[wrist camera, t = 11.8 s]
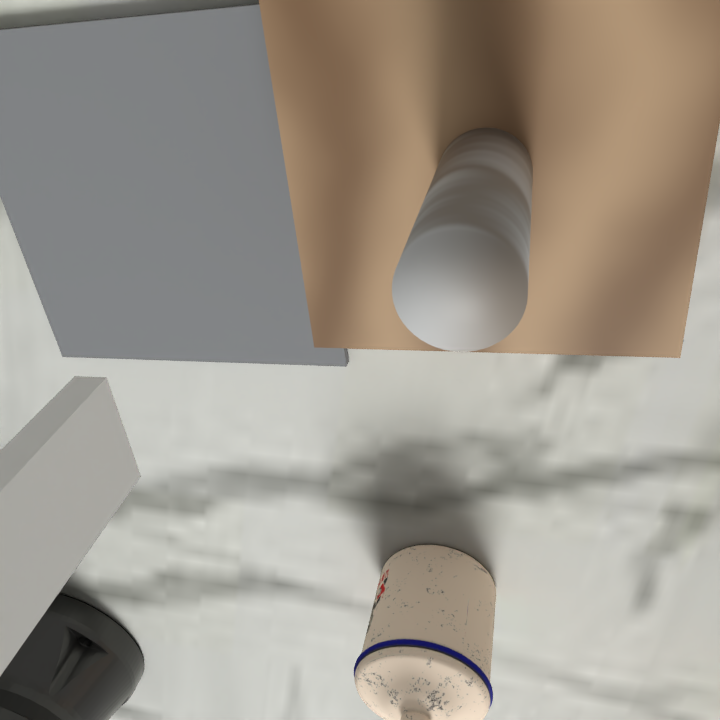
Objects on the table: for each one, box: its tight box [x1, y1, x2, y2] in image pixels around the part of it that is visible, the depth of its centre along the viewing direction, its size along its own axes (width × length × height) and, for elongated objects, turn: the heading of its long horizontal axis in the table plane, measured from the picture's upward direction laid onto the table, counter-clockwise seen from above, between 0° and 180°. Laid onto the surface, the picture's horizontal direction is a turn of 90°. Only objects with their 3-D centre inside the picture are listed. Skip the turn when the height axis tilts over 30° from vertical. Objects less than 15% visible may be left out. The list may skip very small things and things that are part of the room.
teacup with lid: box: [354, 545, 496, 720], centre depth 48 cm, size 12×9×12 cm
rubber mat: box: [0, 4, 349, 366], centre depth 40 cm, size 20×20×1 cm
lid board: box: [259, 0, 720, 358], centre depth 23 cm, size 16×16×11 cm
